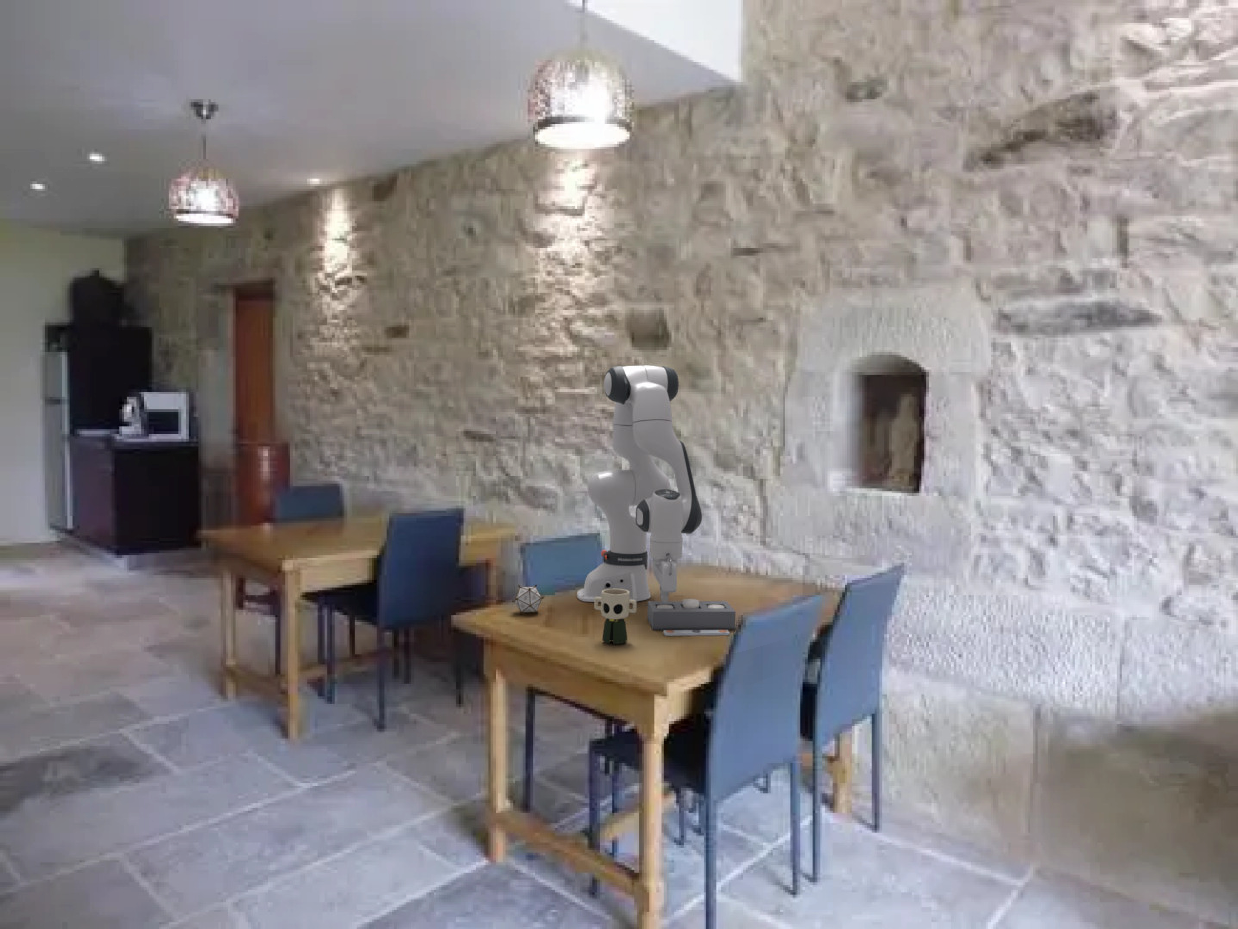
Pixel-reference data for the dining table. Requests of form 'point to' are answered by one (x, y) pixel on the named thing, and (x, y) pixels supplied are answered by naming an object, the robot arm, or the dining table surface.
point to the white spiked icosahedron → (528, 599)
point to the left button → (664, 607)
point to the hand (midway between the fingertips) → (664, 600)
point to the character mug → (615, 613)
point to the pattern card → (695, 632)
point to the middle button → (690, 603)
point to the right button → (715, 606)
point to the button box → (691, 616)
